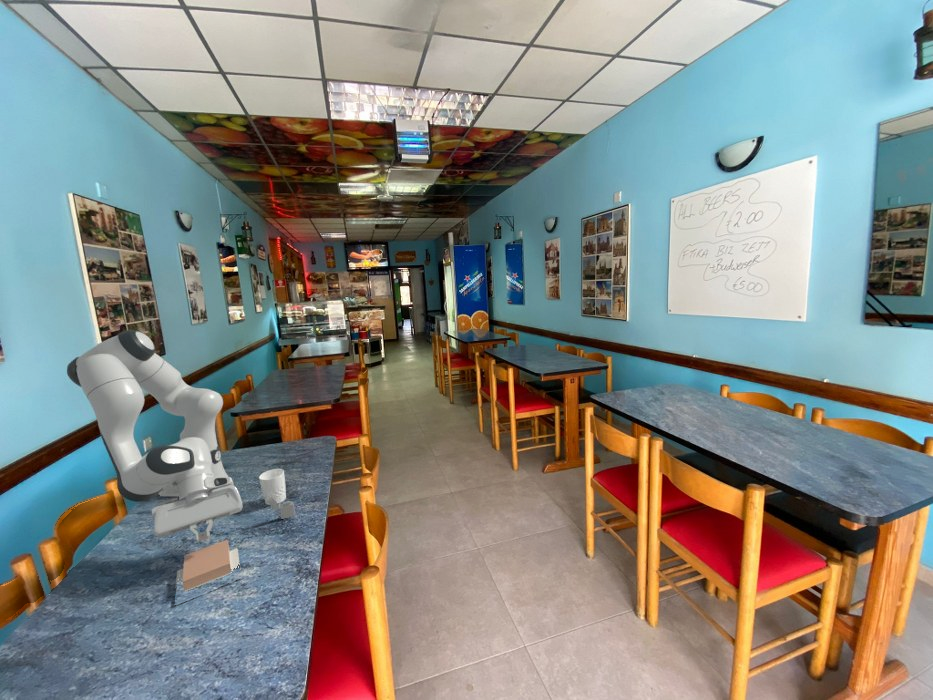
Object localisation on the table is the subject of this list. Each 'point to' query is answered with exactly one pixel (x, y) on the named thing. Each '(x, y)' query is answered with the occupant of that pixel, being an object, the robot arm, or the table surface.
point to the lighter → (283, 508)
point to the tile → (206, 565)
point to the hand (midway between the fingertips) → (203, 539)
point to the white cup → (273, 485)
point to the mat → (233, 559)
